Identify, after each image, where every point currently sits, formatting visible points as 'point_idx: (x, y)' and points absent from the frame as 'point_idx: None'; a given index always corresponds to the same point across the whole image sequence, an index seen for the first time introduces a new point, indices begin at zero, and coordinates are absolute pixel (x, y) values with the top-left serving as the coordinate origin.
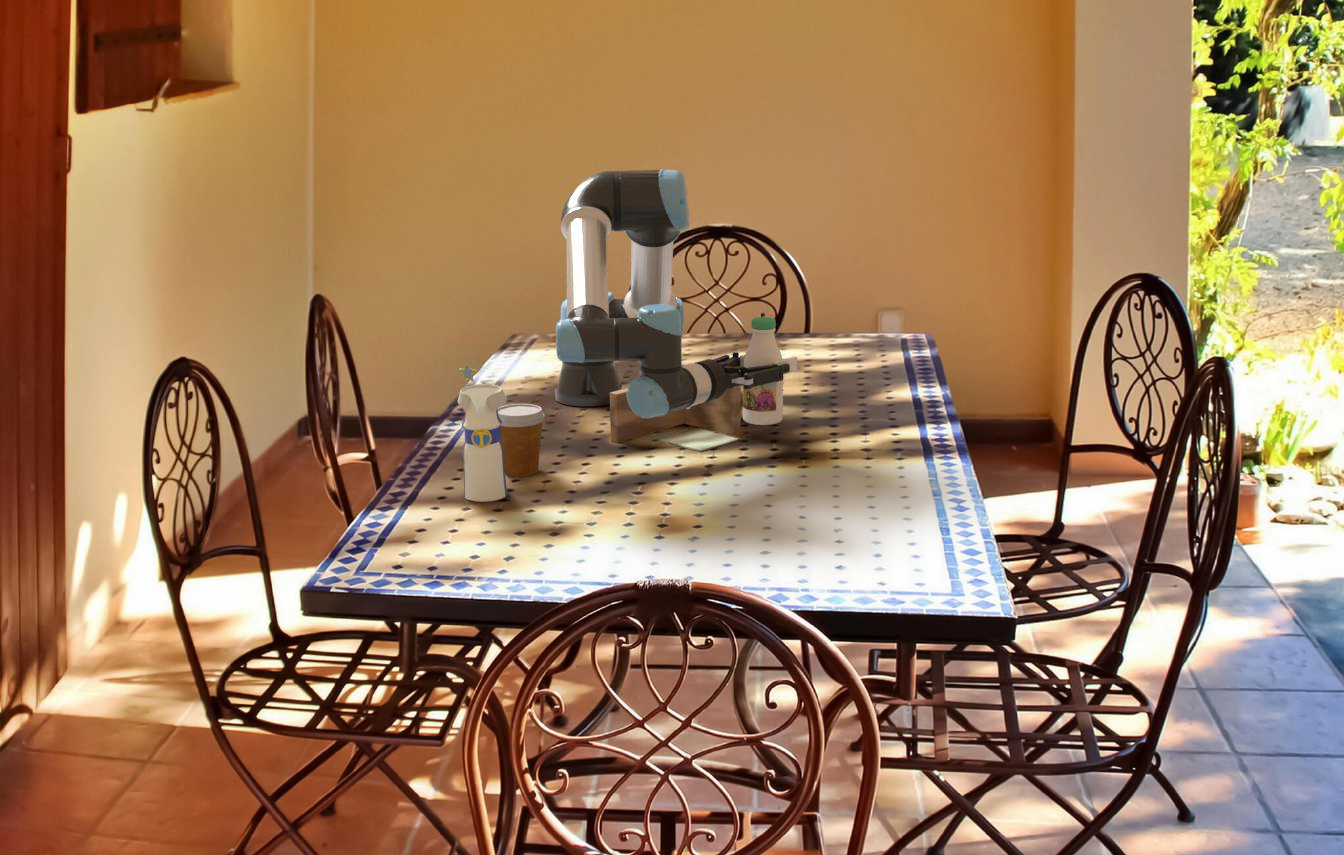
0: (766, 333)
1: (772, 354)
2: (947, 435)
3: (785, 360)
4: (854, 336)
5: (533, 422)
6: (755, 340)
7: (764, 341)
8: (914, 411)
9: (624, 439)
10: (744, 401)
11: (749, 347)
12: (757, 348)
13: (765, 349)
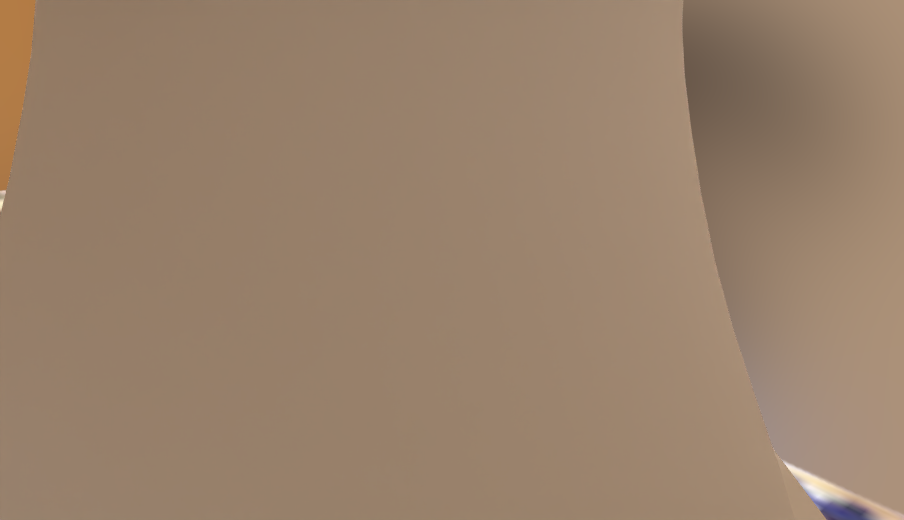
0: None
1: (788, 503)
2: (800, 478)
3: (803, 496)
4: (3, 195)
5: None
6: (331, 188)
7: (648, 181)
8: None
9: None
10: None
11: (45, 495)
12: (499, 495)
13: (718, 442)
